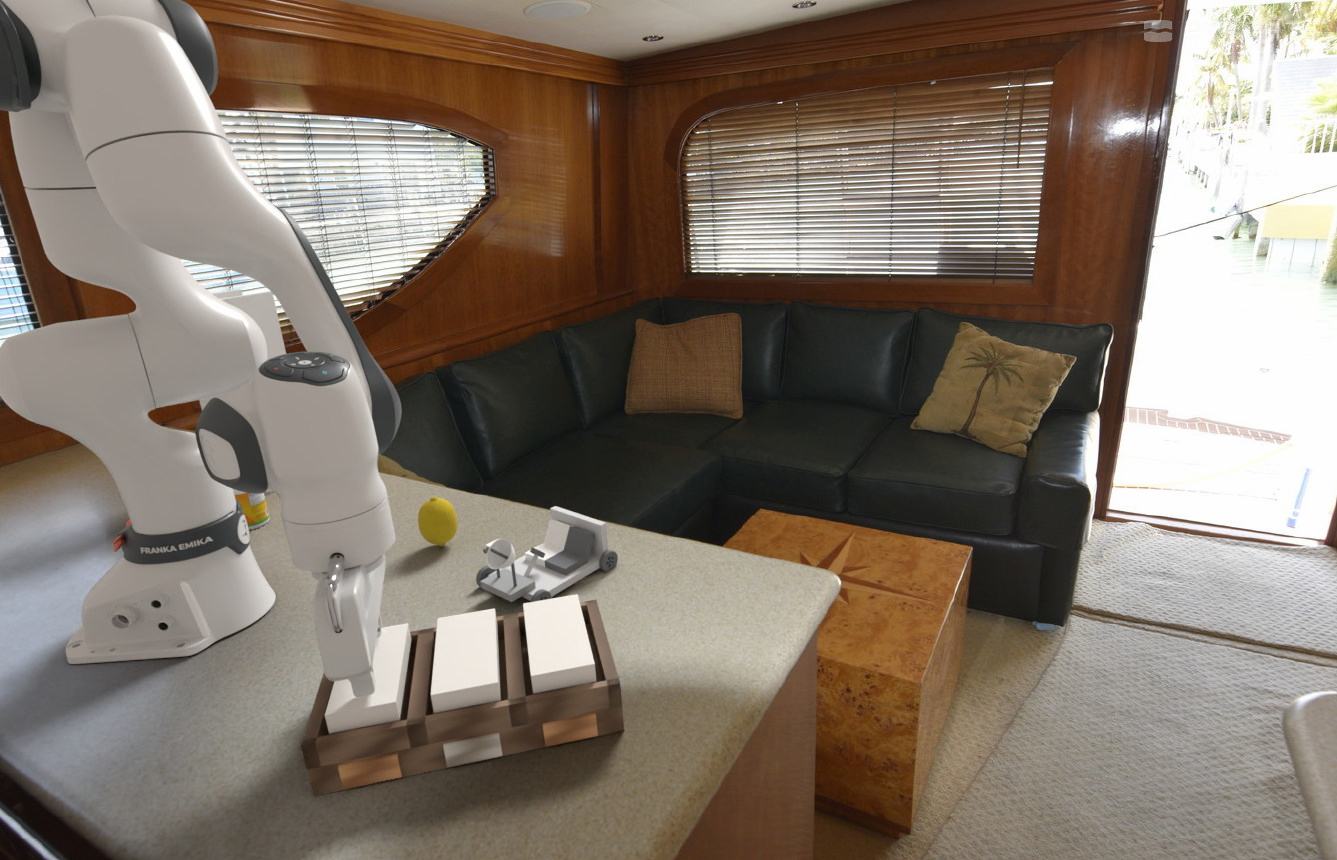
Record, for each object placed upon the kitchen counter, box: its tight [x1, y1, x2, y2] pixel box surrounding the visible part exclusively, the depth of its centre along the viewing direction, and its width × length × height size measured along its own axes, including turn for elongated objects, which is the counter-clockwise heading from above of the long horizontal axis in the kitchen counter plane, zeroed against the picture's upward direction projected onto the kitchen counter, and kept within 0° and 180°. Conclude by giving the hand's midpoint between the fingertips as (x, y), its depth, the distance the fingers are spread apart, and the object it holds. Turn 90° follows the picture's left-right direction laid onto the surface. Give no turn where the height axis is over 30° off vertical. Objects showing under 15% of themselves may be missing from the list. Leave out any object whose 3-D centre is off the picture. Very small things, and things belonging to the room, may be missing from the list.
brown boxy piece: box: [299, 599, 625, 797], centre depth 76 cm, size 28×16×6 cm, turn 103°
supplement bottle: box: [233, 489, 271, 531], centre depth 121 cm, size 5×5×10 cm
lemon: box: [417, 496, 459, 547], centre depth 110 cm, size 6×6×8 cm
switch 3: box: [522, 594, 596, 694], centre depth 76 cm, size 6×13×2 cm, turn 13°
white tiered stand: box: [198, 288, 287, 496], centre depth 134 cm, size 11×11×35 cm
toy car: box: [475, 505, 619, 603], centre depth 99 cm, size 18×10×12 cm
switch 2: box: [431, 608, 501, 713], centre depth 75 cm, size 6×13×2 cm, turn 13°
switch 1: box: [325, 622, 411, 734], centre depth 73 cm, size 6×13×2 cm, turn 13°
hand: (369, 661), depth 72 cm, fingers open, 8 cm apart
